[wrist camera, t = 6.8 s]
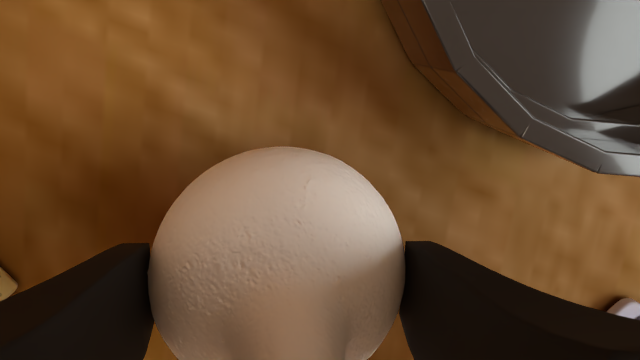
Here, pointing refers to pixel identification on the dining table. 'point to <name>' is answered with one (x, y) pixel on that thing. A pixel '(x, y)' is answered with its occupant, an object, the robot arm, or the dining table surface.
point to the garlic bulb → (277, 261)
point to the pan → (536, 71)
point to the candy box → (6, 285)
